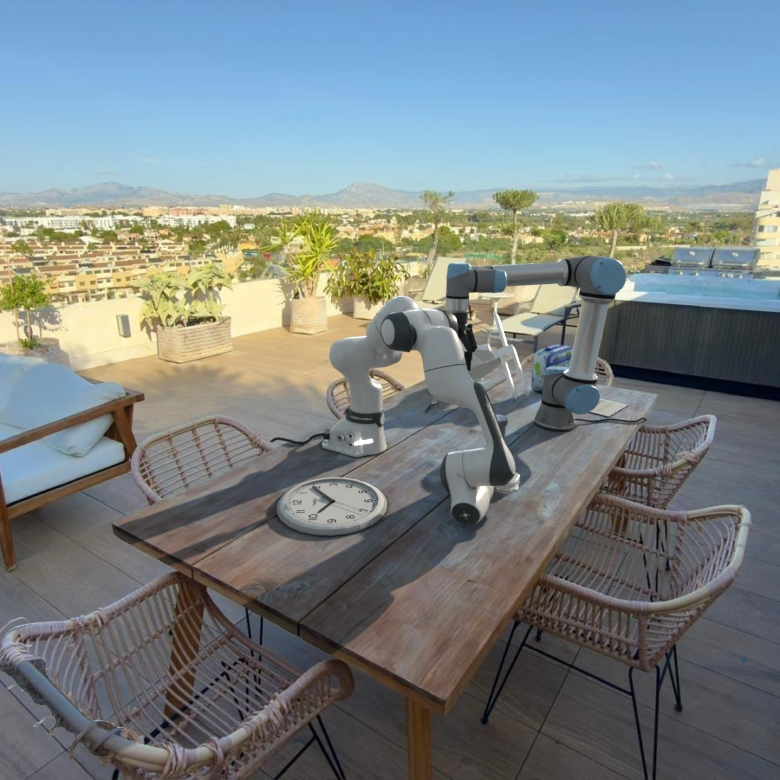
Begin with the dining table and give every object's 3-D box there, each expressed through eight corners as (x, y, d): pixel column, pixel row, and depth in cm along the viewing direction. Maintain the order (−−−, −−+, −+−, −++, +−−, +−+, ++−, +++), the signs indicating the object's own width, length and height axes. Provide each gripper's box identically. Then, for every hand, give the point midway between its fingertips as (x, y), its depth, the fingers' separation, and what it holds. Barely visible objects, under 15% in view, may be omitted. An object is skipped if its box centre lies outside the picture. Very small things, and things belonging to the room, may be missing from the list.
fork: (422, 411, 216) (422, 407, 215) (433, 400, 230) (433, 396, 230) (428, 412, 215) (429, 407, 215) (438, 401, 230) (439, 396, 229)
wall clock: (392, 527, 129) (268, 531, 127) (391, 533, 130) (269, 537, 127) (383, 473, 158) (282, 475, 155) (383, 478, 158) (282, 480, 156)
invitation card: (608, 416, 214) (573, 407, 224) (608, 416, 214) (573, 408, 224) (628, 404, 229) (594, 396, 238) (628, 405, 229) (594, 397, 238)
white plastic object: (461, 429, 252) (437, 405, 227) (444, 352, 274) (420, 323, 250) (535, 404, 240) (518, 377, 215) (510, 326, 262) (492, 293, 237)
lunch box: (547, 397, 237) (552, 352, 231) (526, 391, 245) (531, 348, 238) (574, 386, 255) (580, 344, 249) (554, 381, 262) (559, 340, 256)
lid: (484, 425, 161) (484, 419, 160) (490, 418, 166) (490, 413, 166) (504, 428, 158) (504, 422, 158) (509, 422, 163) (510, 416, 163)
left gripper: (518, 482, 137) (524, 461, 150) (442, 469, 144) (454, 450, 156) (515, 504, 139) (522, 481, 152) (441, 489, 146) (453, 469, 158)
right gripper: (473, 306, 182) (470, 365, 189) (420, 312, 168) (418, 376, 174) (490, 309, 177) (485, 369, 183) (436, 315, 162) (434, 381, 168)
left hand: (487, 465), depth 154 cm, fingers open, 8 cm apart
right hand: (453, 373), depth 179 cm, fingers open, 13 cm apart
